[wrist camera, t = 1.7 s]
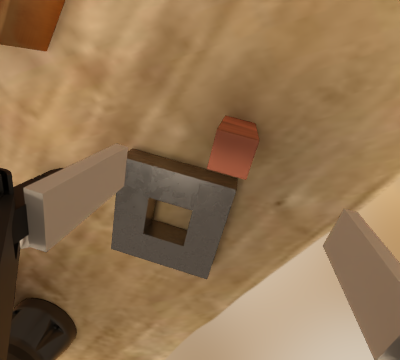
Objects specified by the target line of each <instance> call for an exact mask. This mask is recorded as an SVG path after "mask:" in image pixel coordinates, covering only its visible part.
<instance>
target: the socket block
mask: <svg viewBox="0 0 400 360" xmlns="http://www.w3.org/2000/svg"><path fill="white" fill-rule="evenodd" d="M237 179H238V178H234V177H231V176H227V175H224V174H220V173H217V172H213V171H210V170H206V169H203V168H199V167H196V166H192V165H189V164H185V163H182V162H178V161H174V160H171V159H167V158H164V157H160V156H157V155H153V154H150V153H146V152H143V151H139V150H136V149H131V150H130V151H128V152H127V161H126V171H125V181H124V187H122V188H121V189H120V190H119V191H118V192H117V193H116V201H115V212H114V223H113V234H112V244H111V249H113V250H117V251H120V252H123V253H126V254H129V255H132V256H135V257H139V258H142V259H145V260H148V261H151V262H154V263H157V264H160V265H164V266H167V267H170V268H173V269H176V270H179V271H182V272H186V273H189V274H192V275H195V276H198V277H201V278H204V279H207V278H208V275H209V272H210V269H211V266H212V263H213V260H214V257H215V254H216V251H217V248H218V245H219V242H220V239H221V236H222V233H223V229H224V226H225V223H226V220H227V217H228V214H229V211H230V208H231V205H232V202H233V199H234V196H235V193H236V190H237ZM156 200H159V201H162V202H166V203H169V204H172V205H176V206H179V207H182V208H186V209H189V210H193V211H192V215H191V219H190V223H189V227H188V230H185V229H181V228H178V227H175V226H171V225H168V224H165V223H162V222H158V221H155V220H153V215H154V209H155V203H156Z"/></svg>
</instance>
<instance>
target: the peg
mask: <svg viewBox="0 0 400 360" xmlns="http://www.w3.org/2000/svg"><path fill="white" fill-rule="evenodd" d="M258 144H259V137H258V132H257V128H256V124H255V123H252V122H248V121H244V120H241V119H237V118H233V117H229V116H225V117H224V119H223V121H222V122H221V124H220V126H219V127H218V129H217V132H216V136H215V139H214V143H213V147H212V151H211V155H210V159H209V163H208V166H207V169H210V170H213V171H217V172H220V173H224V174H227V175H231V176H234V177H238V178H241V179H245V180H246V179H247V176H248V173H249V170H250V167H251V164H252V161H253V158H254V155H255V152H256V150H257V147H258Z"/></svg>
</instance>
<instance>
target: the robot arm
mask: <svg viewBox="0 0 400 360" xmlns="http://www.w3.org/2000/svg"><path fill="white" fill-rule="evenodd" d="M127 152H128V147H127V146H123V145H120V144H114V145H112V146H110V147H108V148H106V149H104V150H102V151H99V152H97V153H95V154H93V155H91V156H89V157H87V158H85V159H83V160H81V161H79V162H76V163H74V164H72V165H70V166H68V167H66V168H59V169H54V170H50V171H48V172H46V173H44V174H42V175H39V176H37V177H35V178H34V179H30V180H28V181H26V182H24V183H22V184H19V185H17V186H15V187H13V182H12V174H11V172H10V171H9V170H7V169H3V168H0V360H56V359H57V358H58V357H59V356H60V355H61V354H62V353H63V352H64V351H66V350H67V349H68V347H69V346H70V345H71V343H72V342H73V340H74V339H75V336H76V328H75V326H74V323H73V322H72V320H71V319H70V317H69V316H68V315H67V314H66V313H65V312H64V311H62V310H61V309H60V308H58V307H57V306H55V305H54V304H52V303H49V302H47V301H44V300H41V299H34V298H31V299H25V300H23V301H22V302H20V303H19V304H18V305H17V306H16V307H15V308H14V309H13V304H14V296H15V288H16V280H17V271H18V263H19V255H20V240H22V239H23V238H25V237H26V236H28V240H29V247H32V248H35V249H38V250H41V251H44V252H47V251H48V250H50V249H51V248H52V247H53V246H54V245H55V244H57V243H58V242H59V241H60V240H61V239H62V238H64V237H65V236H66V235H67V234H68V233H70V232H71V231H72V230H73V229H74V228H75V227H77V226H78V225H79V224H80V223H81V222H82V221H84V220H85V219H86V218H87V217H88V216H89V215H91V214H92V213H93V212H94V211H95V210H97V209H98V208H99V207H100V206H101V205H102V204H104V203H105V202H106V201H107V200H108V199H109V198H111V197H112V196H113V195H114V194H115V193H117V192H118V191H119V190H120V189H121V188H122V187H124V181H125V171H126V161H127ZM323 247H324V249H325V252H326V254H327V256H328V258H329V260H330V263H331V265H332V267H333V269H334V272H335V274H336V276H337V278H338V280H339V283H340V285H341V287H342V289H343V291H344V294H345V296H346V298H347V300H348V302H349V305H350V307H351V309H352V311H353V313H354V316H355V318H356V320H357V322H358V324H359V327H360V329H361V331H362V333H363V335H364V338H365V340H366V342H367V344H368V346H369V349H370V351H371V353H372V355H373V357H374V360H400V263H399V261H398V260H397V259H396V258H395V257H394V256H393V254H392V253H391V252H390V251H389V249H388V248H387V247H386V246H385V245H384V243H383V242H382V241H381V240H380V239H379V237H378V236H377V235H376V234H375V233H374V232H373V230H372V229H371V228H370V227H369V225H368V224H367V223H366V222H365V221H364V219H363V218H362V217H361V216H360V215H359V213H358V212H354V211H351V210H347V209H343V211H342V213H341V215H340V217H339V218H338V220H337V222H336V224H335V225H334V227H333V229H332V231H331V232H330V234H329V236H328V238H327V239H326V241H325V243H324V245H323Z"/></svg>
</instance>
